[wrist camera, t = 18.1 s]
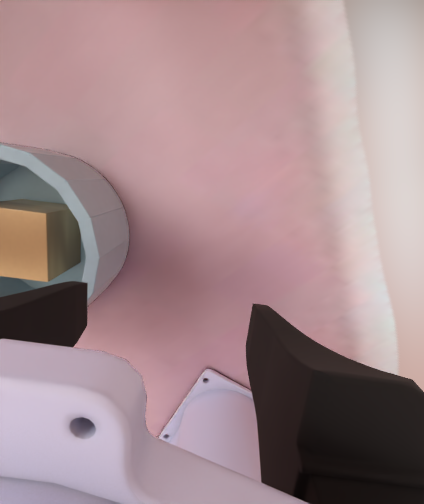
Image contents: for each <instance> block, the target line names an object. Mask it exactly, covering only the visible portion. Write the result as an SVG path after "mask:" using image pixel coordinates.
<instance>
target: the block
mask: <svg viewBox="0 0 424 504" xmlns="http://www.w3.org/2000/svg"><path fill="white" fill-rule="evenodd" d="M80 262H81V232H80V228H79V224H78V221H77V219H76V218H75V216H74V215H73V213H72V212H71V210H70V209H69V207H68V206H67V204H60V203H52V202H44V201H36V200H28V199H17V200H8V201H0V276H3V277H11V278H19V279H27V280H35V281H43V282H49V281H51V280H52V279H54V278H56V277H57V276H59V275H61V274H62V273H64V272H65V271H67V270H69V269H70V268H72V267H74V266H75V265H77V264H79V263H80Z"/></svg>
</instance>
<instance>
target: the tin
mask: <svg viewBox="0 0 424 504" xmlns="http://www.w3.org/2000/svg"><path fill="white" fill-rule="evenodd" d="M17 199H28V200H36V201H44V202H52V203H60V204H67V206H68V207H69V209H70V210H71V212H72V213H73V215H74V216H75V218H76V219H77V221H78V224H79V228H80V232H81V262H80V263H79V264H77V265H75V266H74V267H72V268H70V269H69V270H67V271H65V272H64V273H62V274H61V275H59V276H57V277H56V278H54V279H52V280H51V281H49V282H43V281H35V280H27V279H19V278H11V277H3V276H0V297H3V296H7V295H12V294H16V293H21V292H25V291H29V290H33V289H37V288H41V287H45V286H49V285H53V284H58V283H62V282H68V281H77V282H85V283H88V289H87V307H88V306H89V305H90V304H91V303H92V302H93V301H94V300H95V299H96V298H97V297H98V296H99V295H100V294H101V293H102V292H103V291H104V290H105V289H106V288H107V287H108V286H109V285H110V283H111V282H112V281H113V280H114V278H115V277H116V276H117V275H118V273H119V272H120V270H121V269H122V267H123V265H124V262H125V260H126V256H127V253H128V247H129V225H128V220H127V216H126V212H125V210H124V207H123V205H122V202H121V200H120V198H119V197H118V195H117V193H116V192H115V190H114V189H113V187H112V186H111V185H110V183H109V182H108V181H107V180H106V179H105V178H104V177H103V176H102V175H101V174H100V173H99V172H97V171H96V170H95V169H94V168H92V167H91V166H89V165H88V164H86V163H85V162H83V161H81V160H80V159H78V158H75V157H72V156H69V155H66V154H62V153H58V152H54V151H51V150H47V149H41V148H34V147H28V146H21V145H15V144H8V143H1V142H0V201H8V200H17Z"/></svg>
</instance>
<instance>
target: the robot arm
mask: <svg viewBox="0 0 424 504" xmlns="http://www.w3.org/2000/svg"><path fill="white" fill-rule="evenodd" d="M87 289H88V283H85V282H77V281H68V282H62V283H58V284H53V285H49V286H45V287H41V288H37V289H33V290H29V291H25V292H21V293H16V294H12V295H7V296H3V297H0V504H424V392H423V391H422V390H421V389H420V388H419V387H418V385H417V384H416V383H415V382H414V381H413V380H411V379H408V378H405V377H401V376H398V375H394V374H391V373H387V372H384V371H380V370H377V369H374V368H372V367H369V366H366V365H363V364H361V363H358V362H356V361H353V360H351V359H348V358H346V357H344V356H342V355H340V354H338V353H336V352H333V351H331V350H330V349H328V348H326V347H324V346H322V345H321V344H319V343H317V342H315V341H314V340H312V339H311V338H309V337H307V336H306V335H305V334H303V333H302V332H300V331H299V330H298V329H296V328H295V327H294V326H292V325H291V324H290V323H289V322H287V321H286V320H285V319H284V318H282V317H281V316H280V315H279V314H278V313H277V312H275V311H274V310H273V309H272V308H270V307H269V306H267V305H260V304H253V306H252V312H251V318H250V324H249V330H248V336H247V342H246V360H247V369H248V375H249V380H250V386H251V390H249V389H247V388H245V387H243V386H241V385H240V384H238V383H236V382H234V381H232V380H230V379H229V378H227V377H225V376H223V375H221V374H219V373H217V372H216V371H214V370H212V369H206V370H204V371H203V373H202V374H201V376H200V377H199V379H198V380H197V382H196V383H195V384H194V386H193V387H192V389H191V390H190V392H189V393H188V395H187V396H186V398H185V399H184V400H183V402H182V403H181V405H180V406H179V408H178V409H177V411H176V412H175V413H174V415H173V416H172V418H171V419H170V421H169V422H168V424H167V425H166V426H165V428H164V429H163V431H162V432H161V434H160V435H159V437H158V438H157V437H155V436H153V435H152V434H151V433H150V432H149V431H148V429H147V427H146V420H145V413H146V400H147V395H146V390H145V386H144V382H143V378H142V375H141V374H140V373H139V372H138V371H137V370H136V369H135V368H134V367H133V366H132V365H131V364H130V363H129V362H128V361H127V360H126V359H123V358H121V357H118V356H115V355H112V354H110V353H107V352H104V351H97V350H89V349H81V348H73V347H74V345H75V344H76V343H77V341H78V340H79V338H80V336H81V335H82V333H83V332H84V330H85V328H86V326H87ZM204 378H207V379H208V380H204ZM165 434H168V435H165Z"/></svg>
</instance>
